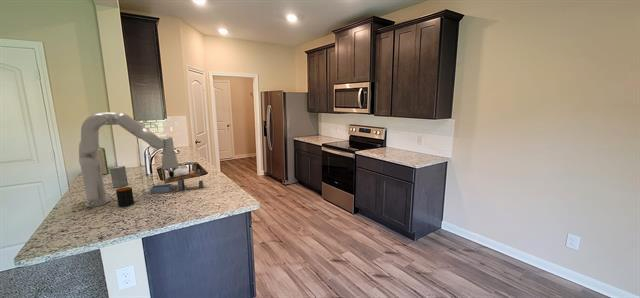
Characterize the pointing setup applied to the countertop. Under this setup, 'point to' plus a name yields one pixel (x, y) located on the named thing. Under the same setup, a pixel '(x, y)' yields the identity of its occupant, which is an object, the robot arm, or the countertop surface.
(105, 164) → the hardback book
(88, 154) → the robot arm
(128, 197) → the mug
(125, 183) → the skincare box
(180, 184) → the fulcrum
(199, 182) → the rest block
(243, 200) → the countertop surface
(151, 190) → the dish
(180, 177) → the brown flat board
